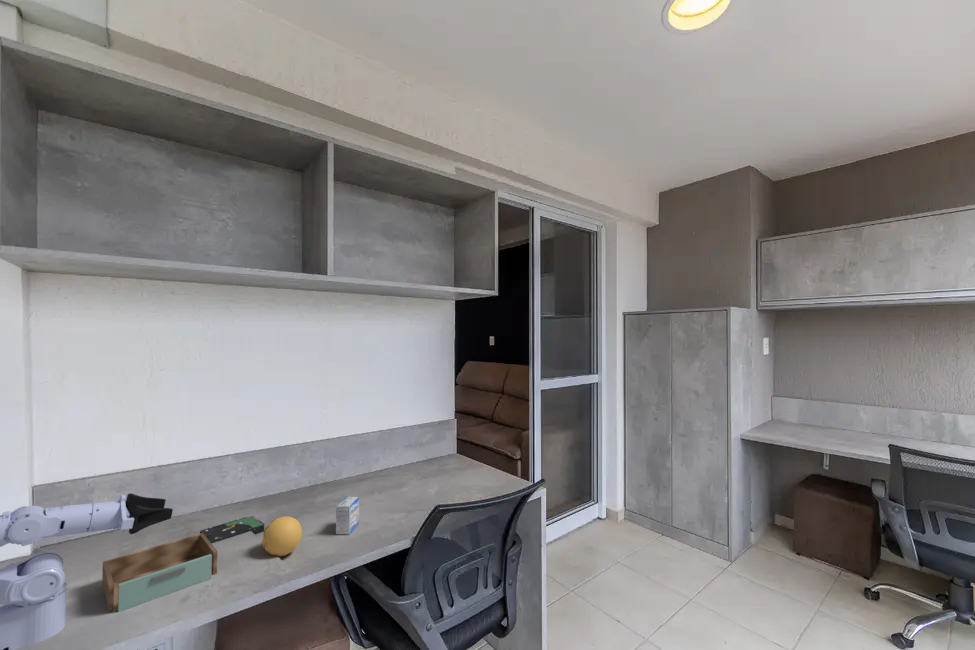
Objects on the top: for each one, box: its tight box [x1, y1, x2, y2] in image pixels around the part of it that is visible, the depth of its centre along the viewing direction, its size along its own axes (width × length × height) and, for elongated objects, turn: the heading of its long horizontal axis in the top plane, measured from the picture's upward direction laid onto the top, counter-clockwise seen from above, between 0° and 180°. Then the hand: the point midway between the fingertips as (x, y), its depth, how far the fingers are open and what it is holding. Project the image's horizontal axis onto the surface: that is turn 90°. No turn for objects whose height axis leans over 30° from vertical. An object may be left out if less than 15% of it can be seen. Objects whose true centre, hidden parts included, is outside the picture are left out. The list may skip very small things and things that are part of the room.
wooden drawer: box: [101, 532, 218, 613], centre depth 101 cm, size 20×14×7 cm
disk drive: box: [199, 515, 265, 545], centre depth 126 cm, size 10×3×15 cm
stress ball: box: [261, 516, 303, 558], centre depth 115 cm, size 10×10×10 cm
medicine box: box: [335, 496, 360, 535], centre depth 131 cm, size 8×4×9 cm, turn 177°
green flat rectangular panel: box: [117, 554, 212, 613], centre depth 95 cm, size 17×2×6 cm, turn 137°
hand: (168, 508), depth 98 cm, fingers open, 7 cm apart
